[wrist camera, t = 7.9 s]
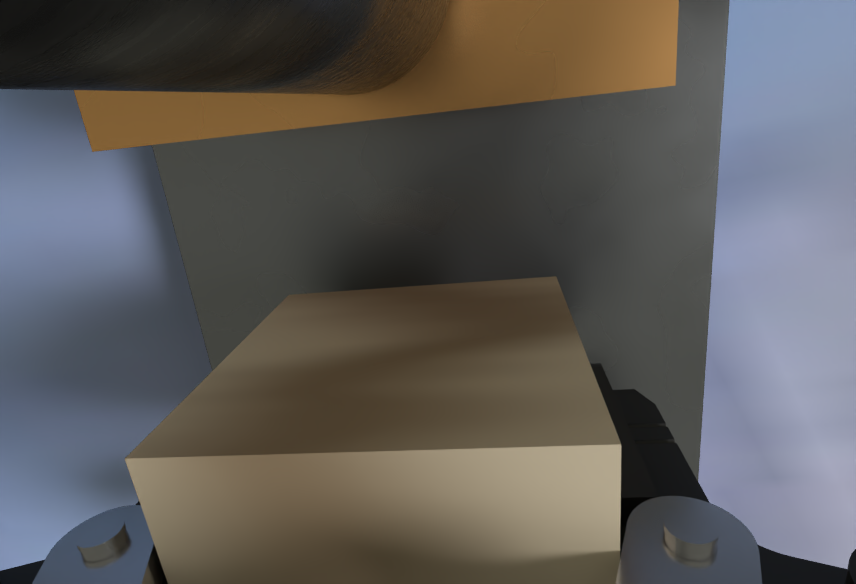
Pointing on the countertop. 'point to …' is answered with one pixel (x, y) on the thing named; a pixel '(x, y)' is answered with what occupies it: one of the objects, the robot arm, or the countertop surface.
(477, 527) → the block
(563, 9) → the press ram
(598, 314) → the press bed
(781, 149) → the countertop surface
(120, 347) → the countertop surface
